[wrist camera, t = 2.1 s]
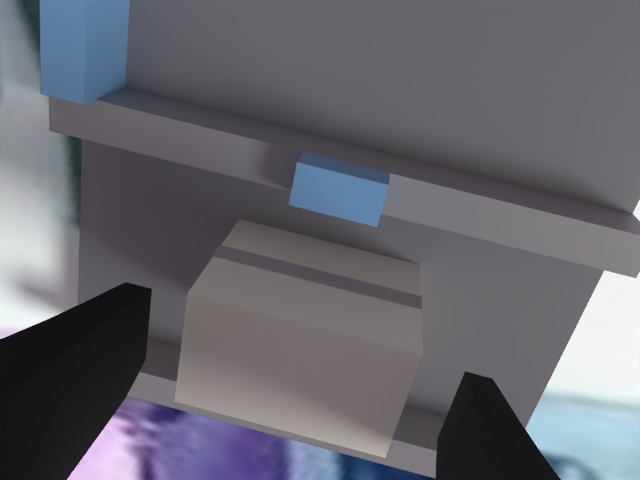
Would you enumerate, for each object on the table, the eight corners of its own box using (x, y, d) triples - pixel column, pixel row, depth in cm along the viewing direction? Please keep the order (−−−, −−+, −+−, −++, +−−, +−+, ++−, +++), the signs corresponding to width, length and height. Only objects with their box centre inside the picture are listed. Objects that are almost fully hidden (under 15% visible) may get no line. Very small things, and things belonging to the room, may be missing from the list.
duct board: (92, 327, 19) (34, 393, 16) (115, -288, 12) (18, -374, 9) (504, 436, 18) (522, 524, 15) (781, -140, 11) (912, -180, 8)
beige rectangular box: (224, 310, 17) (173, 402, 13) (239, 217, 15) (186, 291, 12) (390, 353, 16) (385, 458, 13) (420, 263, 15) (424, 353, 12)
